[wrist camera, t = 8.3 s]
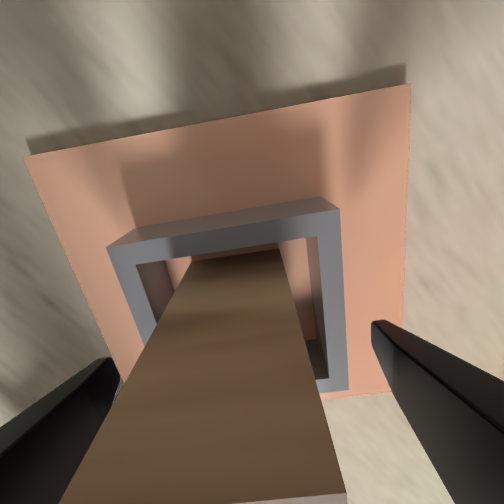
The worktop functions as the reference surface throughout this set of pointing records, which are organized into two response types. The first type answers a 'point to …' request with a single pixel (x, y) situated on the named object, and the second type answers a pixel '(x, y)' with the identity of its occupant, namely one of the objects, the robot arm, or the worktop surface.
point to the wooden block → (218, 401)
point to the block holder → (246, 221)
